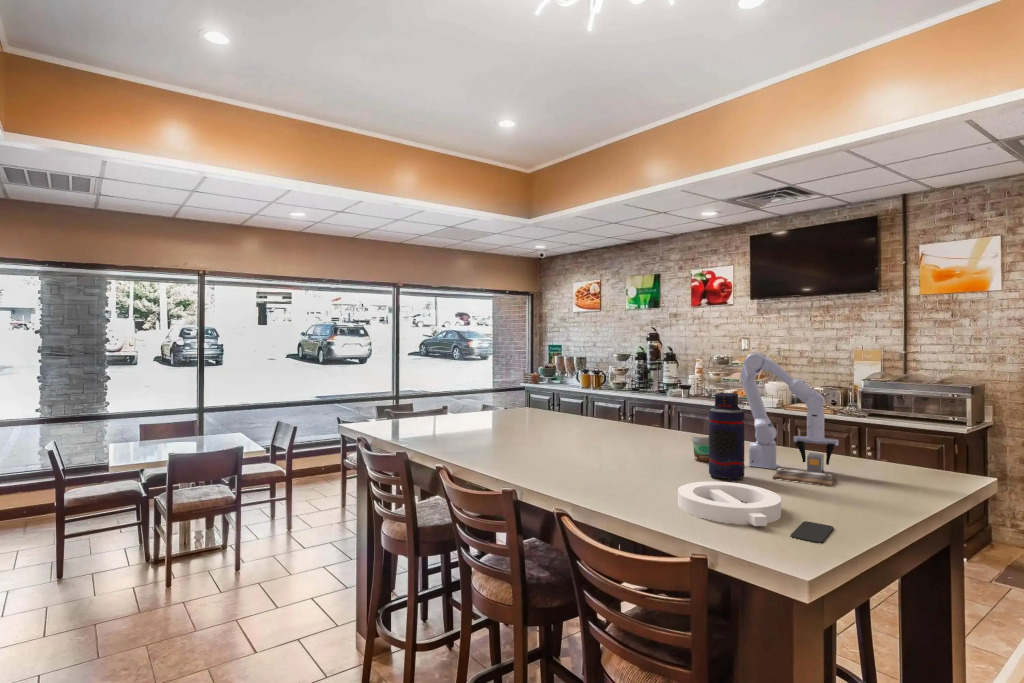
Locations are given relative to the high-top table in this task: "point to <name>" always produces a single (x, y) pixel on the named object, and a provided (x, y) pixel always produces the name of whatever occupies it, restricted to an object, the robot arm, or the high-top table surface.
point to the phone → (812, 532)
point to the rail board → (807, 480)
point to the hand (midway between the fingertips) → (815, 462)
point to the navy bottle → (726, 437)
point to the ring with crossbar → (730, 502)
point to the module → (815, 462)
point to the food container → (701, 449)
